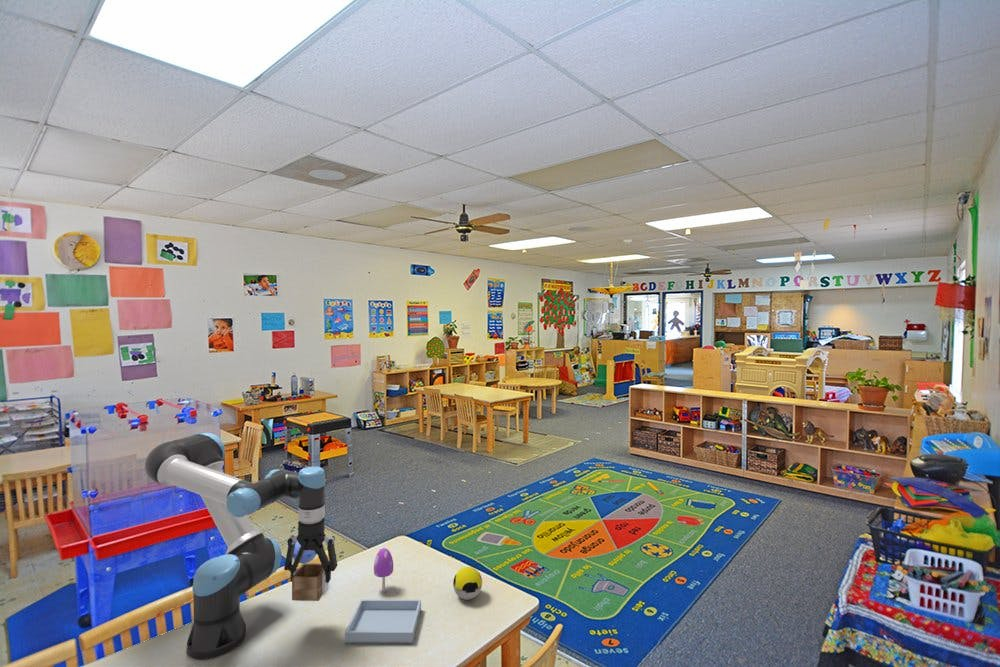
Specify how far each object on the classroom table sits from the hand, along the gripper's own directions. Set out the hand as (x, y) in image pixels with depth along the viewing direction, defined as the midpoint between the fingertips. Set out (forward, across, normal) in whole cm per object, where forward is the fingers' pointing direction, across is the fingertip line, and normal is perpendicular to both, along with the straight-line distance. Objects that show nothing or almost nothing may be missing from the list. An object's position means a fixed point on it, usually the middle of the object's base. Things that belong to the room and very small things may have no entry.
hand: (310, 591), depth 142 cm
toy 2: (+12, +48, +17) cm, 52 cm away
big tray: (+12, +23, +2) cm, 25 cm away
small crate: (0, 0, 0) cm, 0 cm away
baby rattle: (+13, -10, +22) cm, 27 cm away
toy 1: (+12, +18, +21) cm, 30 cm away
